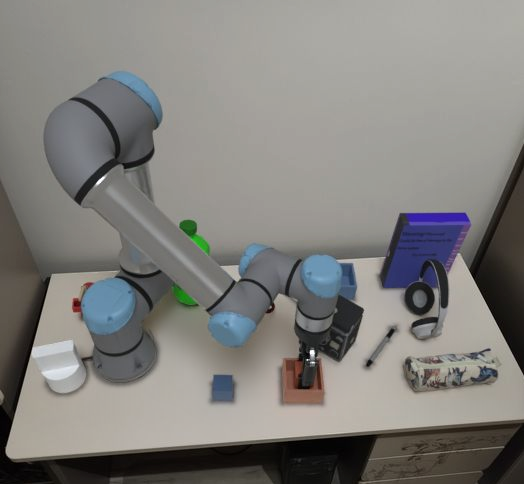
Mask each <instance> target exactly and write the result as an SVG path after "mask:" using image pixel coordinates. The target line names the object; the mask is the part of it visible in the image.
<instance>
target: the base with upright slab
mask: <svg viewBox="0 0 524 484" xmlns="http://www.w3.org/2000/svg"><path fill="white" fill-rule="evenodd" d="M31 357H32V359H33V361H34V363H35V364H36V367H38V369H39V371H40V373H41V374H42V376H43V378H44V379H45V381H46V383H47V385H48V386H49V388H50V389H51V390H52V391H54V392H56V393H60V394H67V393H72V392H74V391H76V390H78V389H79V388H80V387H81V386H82V385H83V384H84V382H85V381H86V379H87V373H88V372H87V369H86V366H85V364H84V361H82V360H81V358H82V357H81V355H80V353H79V351H78V349H77V347H76V345H75V343H74V340H73V339H69V340H64V341H59V342H53V343H49V344H48V343H47V344H43V345H39V346H33V347H32V350H31Z"/></svg>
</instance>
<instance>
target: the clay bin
mask: <svg viewBox="0 0 524 484" xmlns="http://www.w3.org/2000/svg"><path fill="white" fill-rule="evenodd" d="M315 359H318V361H319V365H318V367H317V370H316V375H315V382H314V387H313V388H310V389H298V388H294V372H293V371H294V364H295V361H298V357H282V366H281V384H282V402H283V404H322V402H323V399H324V395H325V392H326V391H325V384H324V383H325V382H324V373H323V363H322V358H320V357H319V358H318V357H316V358H315Z"/></svg>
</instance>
